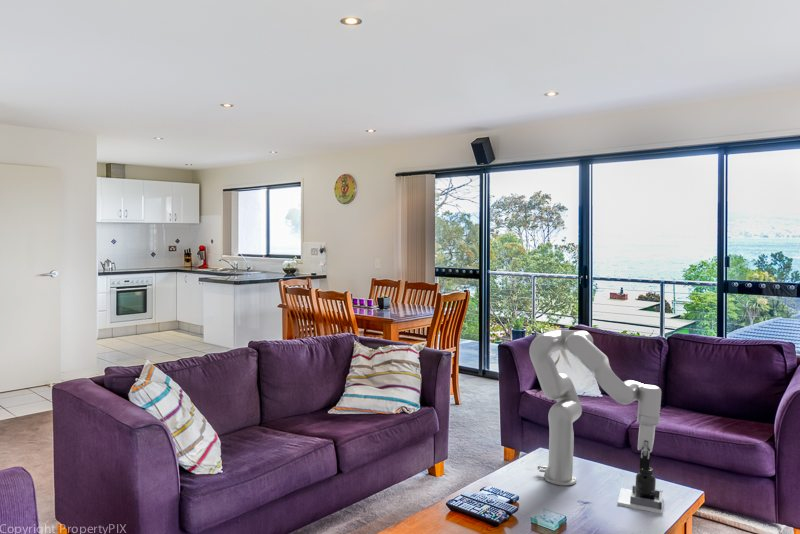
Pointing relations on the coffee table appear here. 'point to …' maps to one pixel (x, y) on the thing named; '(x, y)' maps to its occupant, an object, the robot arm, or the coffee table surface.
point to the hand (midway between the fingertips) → (644, 464)
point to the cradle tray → (641, 500)
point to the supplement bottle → (645, 484)
